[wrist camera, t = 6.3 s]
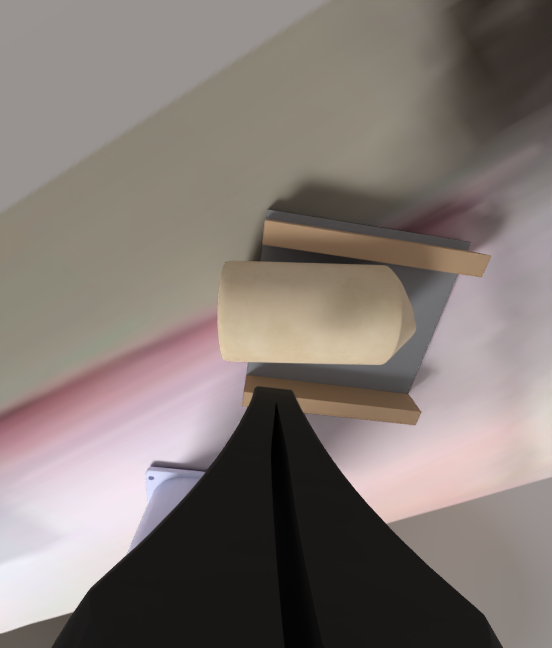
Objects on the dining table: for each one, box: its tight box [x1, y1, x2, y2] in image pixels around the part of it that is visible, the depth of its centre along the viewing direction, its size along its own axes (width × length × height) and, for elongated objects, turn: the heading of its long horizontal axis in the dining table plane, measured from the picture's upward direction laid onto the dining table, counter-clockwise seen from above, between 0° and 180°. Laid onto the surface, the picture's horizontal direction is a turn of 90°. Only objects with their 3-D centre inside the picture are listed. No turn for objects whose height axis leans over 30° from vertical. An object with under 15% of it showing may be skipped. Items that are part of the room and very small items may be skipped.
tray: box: [242, 209, 491, 425], centre depth 18 cm, size 13×12×3 cm
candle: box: [218, 261, 416, 365], centre depth 15 cm, size 6×6×10 cm
